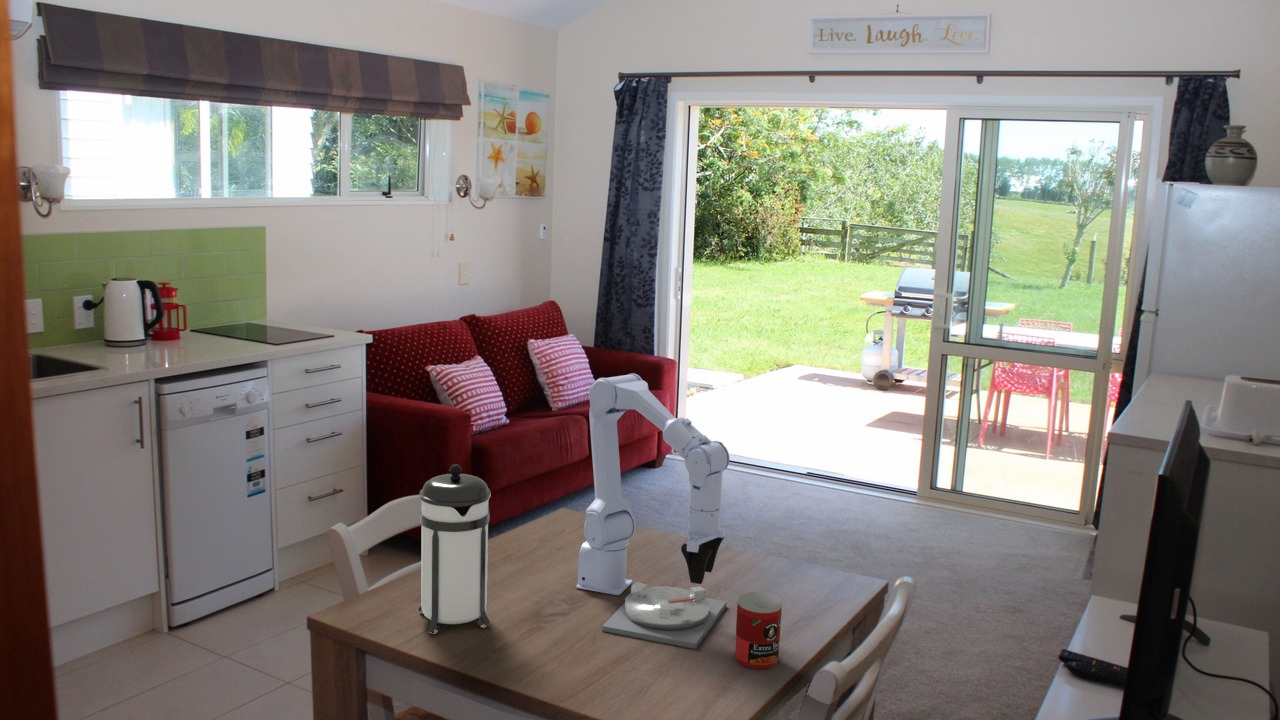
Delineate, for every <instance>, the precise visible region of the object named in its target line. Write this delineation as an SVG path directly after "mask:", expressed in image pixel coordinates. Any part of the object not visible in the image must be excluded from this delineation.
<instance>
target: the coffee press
mask: <svg viewBox="0 0 1280 720" xmlns="http://www.w3.org/2000/svg"><path fill="white" fill-rule="evenodd" d="M448 471H449V473H446V474H441V475H437V476H434V477H432V478H430V479H429V480H427V481H426V482H424V484H423V487H422V489H420V490H419V500H420V501H421V510H420V519H419V520H420V521H419V522H420V523H419V524H421V544H420V545H421V546H420V547H421V559H420V560H421V565H420V567H421V573H420V579H421V585H420V589H421V591H420V592H421V593H420V598H421V600H420V602H421V604H420V606H419V608H418V612H419V611H422V612H423V614H424V617H426V618H427V619H429V625H428V627H427V632H428V631H429V632H432V633H434V630H435V629H436V630H439V631H440V628H441V627H442V626H443V625H444V624H445V625H458V624H459V625H460V624H464V623H465V624H466V623H469V622H475V623H476V624H477V625H478V626H479V627H480V626H481V625H483V624H485V625H486V627H485V629H486V628H488V627H489V626H490V625H491V621H490V619H489V617H488V616H487V613H486V610H487V605H488V603H487V601H488V596H487V595H488V554H489V553H488V552H489V551H488V548H489V547H488V545H489V539H488V538H489V523H490V509H489V500H490V498H491V494H492V493H491V489H490V488H489V487H488V484H487V483H486V482H485V481H484V480H483V479H482V478H480V477H479V476H475V475H472V474H468V473H467V474H466V473H462V471H463V469H462V466H460V465H459V464H457V463H456V464H455V463H454V464H452V465H451V466H450V467H449V469H448ZM480 617H481V618H480ZM482 620H483V621H482ZM487 626H488V627H487Z"/></svg>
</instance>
